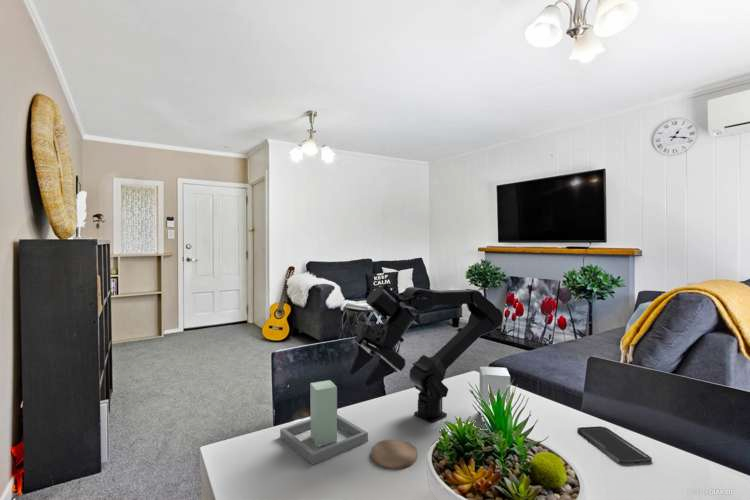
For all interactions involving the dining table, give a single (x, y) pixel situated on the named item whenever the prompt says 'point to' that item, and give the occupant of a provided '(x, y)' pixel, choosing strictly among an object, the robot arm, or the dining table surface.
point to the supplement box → (493, 382)
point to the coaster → (394, 454)
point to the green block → (323, 412)
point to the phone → (614, 446)
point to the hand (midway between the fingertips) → (357, 379)
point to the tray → (328, 451)
